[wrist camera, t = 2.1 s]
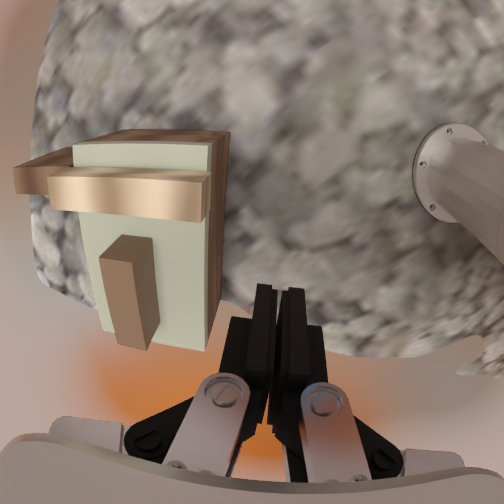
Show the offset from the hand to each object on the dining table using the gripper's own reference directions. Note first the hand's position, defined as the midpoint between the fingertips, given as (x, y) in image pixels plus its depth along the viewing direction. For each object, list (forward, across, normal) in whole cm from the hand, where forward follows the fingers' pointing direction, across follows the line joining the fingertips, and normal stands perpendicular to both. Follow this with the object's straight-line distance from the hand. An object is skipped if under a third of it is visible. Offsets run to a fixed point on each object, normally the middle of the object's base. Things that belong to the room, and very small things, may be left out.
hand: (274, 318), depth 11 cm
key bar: (+14, +12, 0) cm, 19 cm away
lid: (+16, +12, +8) cm, 22 cm away
